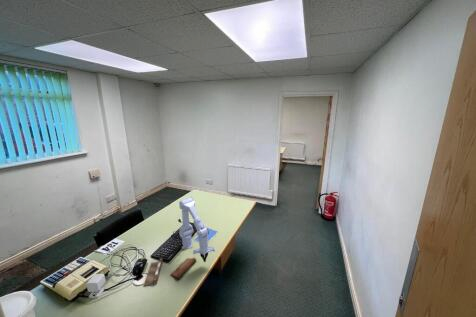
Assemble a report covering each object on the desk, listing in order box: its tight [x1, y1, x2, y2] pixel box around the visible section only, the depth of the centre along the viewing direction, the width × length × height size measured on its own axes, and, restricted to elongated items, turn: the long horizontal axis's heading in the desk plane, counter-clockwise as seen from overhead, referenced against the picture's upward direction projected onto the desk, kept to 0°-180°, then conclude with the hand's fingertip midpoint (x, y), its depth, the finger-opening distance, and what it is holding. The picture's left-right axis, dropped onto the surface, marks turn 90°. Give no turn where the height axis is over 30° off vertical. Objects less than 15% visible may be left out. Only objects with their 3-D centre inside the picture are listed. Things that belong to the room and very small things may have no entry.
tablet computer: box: [193, 227, 219, 244], centre depth 161 cm, size 19×13×1 cm, turn 151°
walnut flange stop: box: [143, 258, 164, 287], centre depth 123 cm, size 18×8×4 cm, turn 10°
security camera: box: [85, 273, 107, 299], centre depth 110 cm, size 6×7×10 cm
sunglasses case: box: [169, 257, 197, 281], centre depth 127 cm, size 18×7×7 cm
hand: (204, 260), depth 129 cm, fingers closed
